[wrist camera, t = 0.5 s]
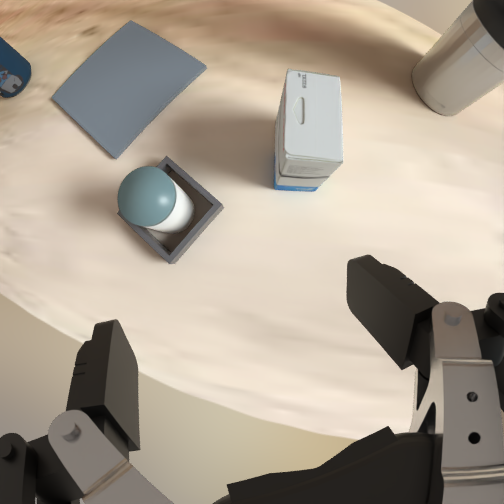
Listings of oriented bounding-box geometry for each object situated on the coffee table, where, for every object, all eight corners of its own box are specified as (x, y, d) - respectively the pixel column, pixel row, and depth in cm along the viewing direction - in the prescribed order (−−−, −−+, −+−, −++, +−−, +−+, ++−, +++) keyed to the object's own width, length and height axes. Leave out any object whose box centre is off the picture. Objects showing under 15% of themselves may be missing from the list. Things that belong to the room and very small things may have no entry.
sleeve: (171, 162, 35) (166, 155, 32) (224, 207, 35) (222, 204, 32) (125, 215, 35) (117, 213, 32) (175, 263, 35) (169, 264, 32)
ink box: (315, 193, 35) (346, 164, 23) (272, 190, 35) (283, 158, 23) (316, 124, 35) (342, 74, 23) (275, 120, 35) (285, 67, 23)
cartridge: (172, 181, 35) (145, 154, 25) (203, 209, 35) (186, 191, 25) (143, 214, 35) (106, 199, 25) (173, 243, 35) (145, 238, 25)
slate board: (132, 23, 35) (130, 20, 34) (206, 68, 35) (206, 65, 34) (54, 99, 35) (51, 97, 34) (116, 159, 35) (114, 157, 34)
